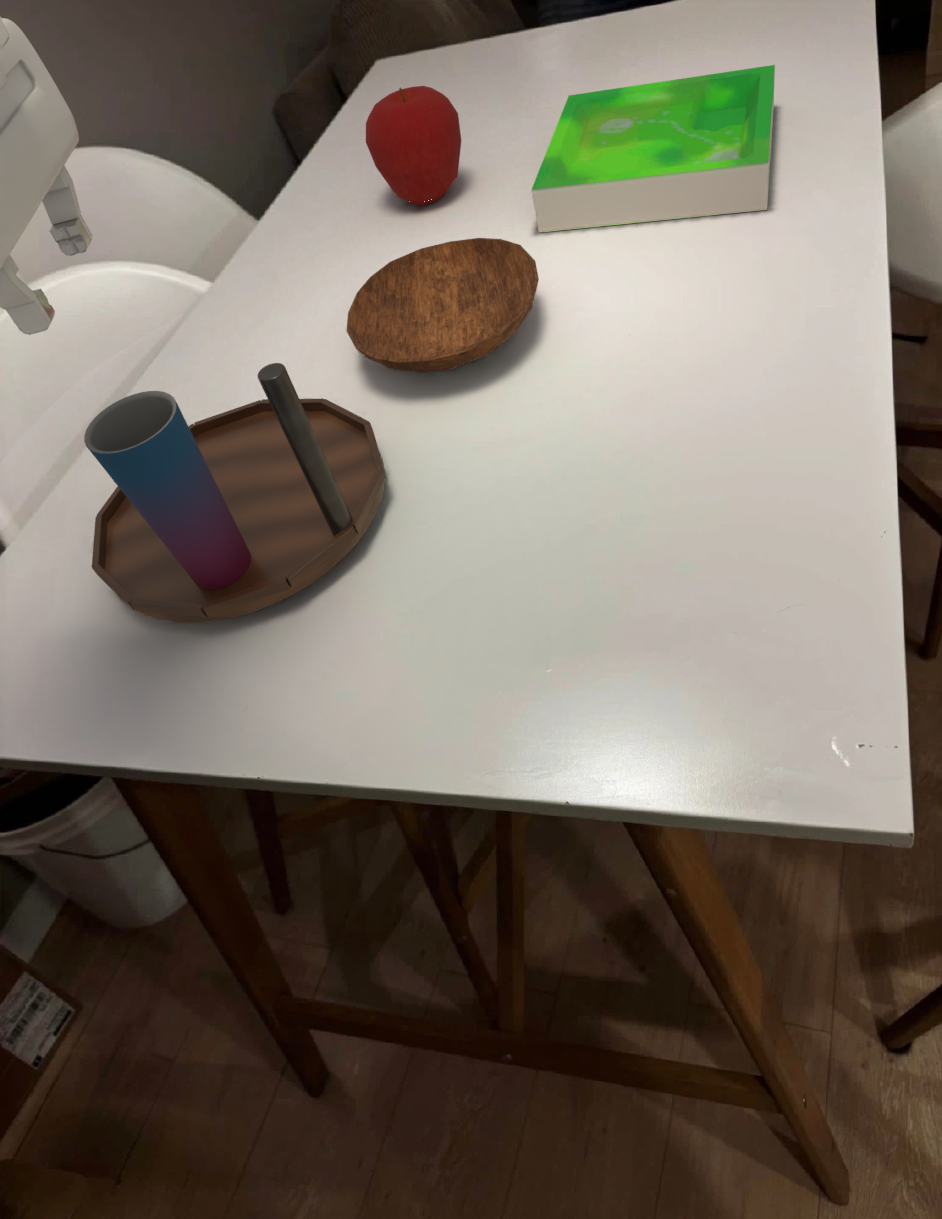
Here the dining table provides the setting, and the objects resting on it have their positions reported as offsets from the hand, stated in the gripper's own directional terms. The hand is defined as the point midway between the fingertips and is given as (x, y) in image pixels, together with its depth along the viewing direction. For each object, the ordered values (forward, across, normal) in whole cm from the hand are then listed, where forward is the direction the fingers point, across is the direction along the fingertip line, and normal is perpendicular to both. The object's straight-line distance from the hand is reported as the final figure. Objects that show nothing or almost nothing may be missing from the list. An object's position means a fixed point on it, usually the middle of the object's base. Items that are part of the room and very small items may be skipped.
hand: (62, 285), depth 54 cm
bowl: (+28, -30, +19) cm, 45 cm away
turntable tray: (+26, -8, 0) cm, 27 cm away
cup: (+25, 0, -1) cm, 25 cm away
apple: (+28, -65, +18) cm, 73 cm away
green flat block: (+28, -56, +46) cm, 78 cm away
